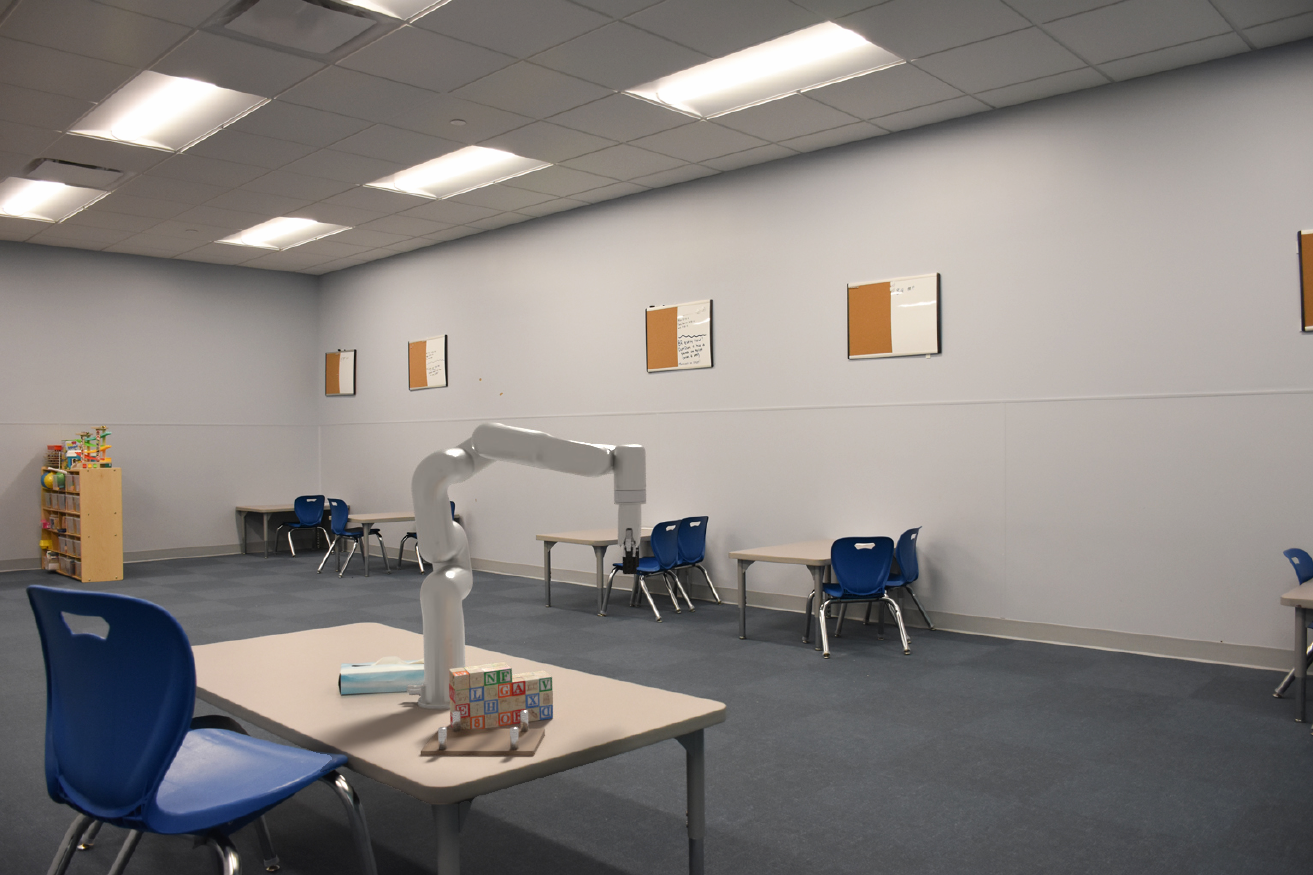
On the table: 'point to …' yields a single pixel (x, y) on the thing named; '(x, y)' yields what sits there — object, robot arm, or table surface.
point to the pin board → (485, 740)
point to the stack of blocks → (498, 695)
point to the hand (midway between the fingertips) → (631, 570)
